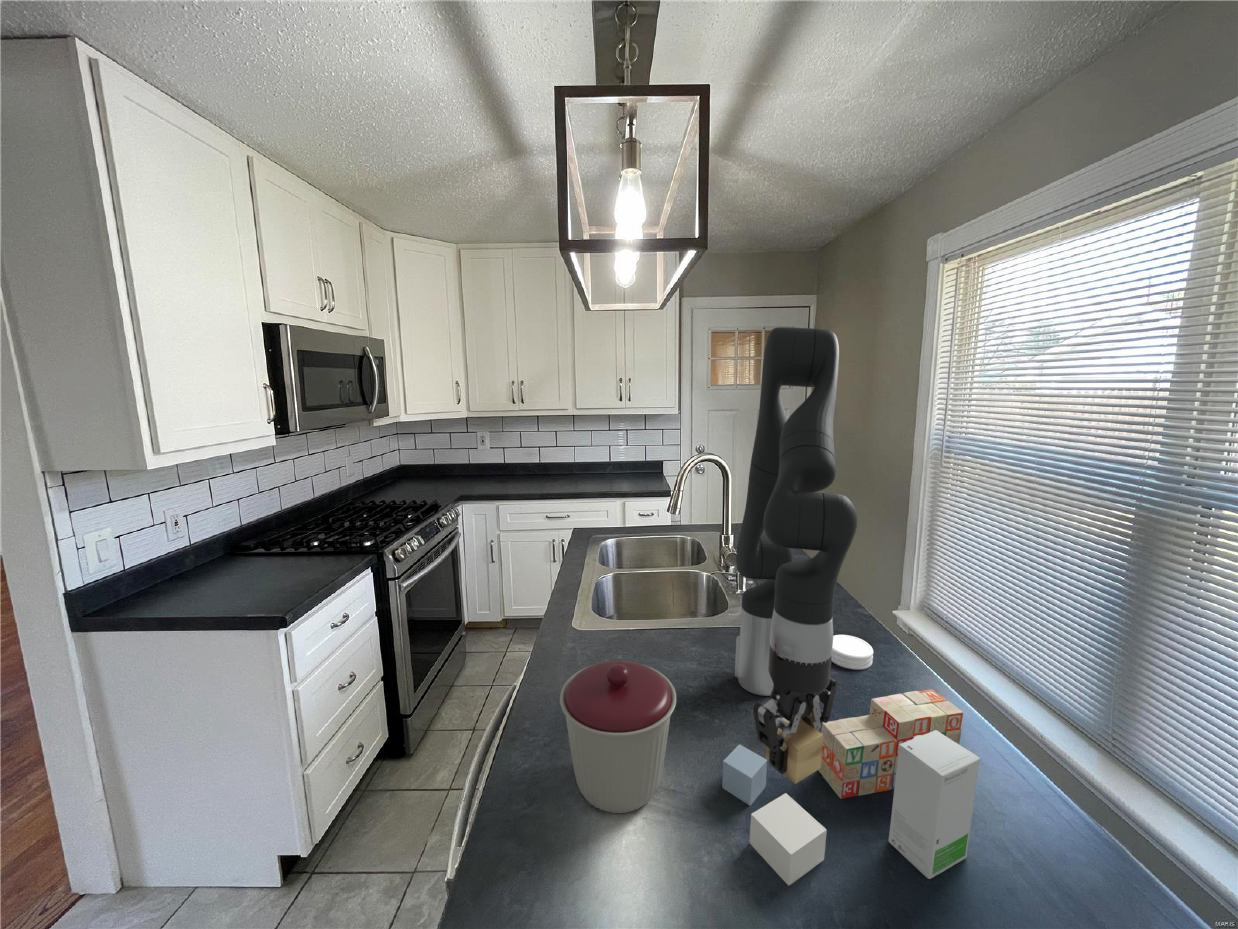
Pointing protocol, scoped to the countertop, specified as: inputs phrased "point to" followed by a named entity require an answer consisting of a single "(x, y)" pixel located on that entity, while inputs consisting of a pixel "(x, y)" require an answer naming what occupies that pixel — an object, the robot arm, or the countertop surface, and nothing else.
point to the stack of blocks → (882, 740)
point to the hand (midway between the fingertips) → (792, 760)
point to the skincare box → (933, 802)
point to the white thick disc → (851, 652)
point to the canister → (618, 732)
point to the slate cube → (744, 774)
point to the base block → (787, 838)
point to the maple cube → (802, 752)
